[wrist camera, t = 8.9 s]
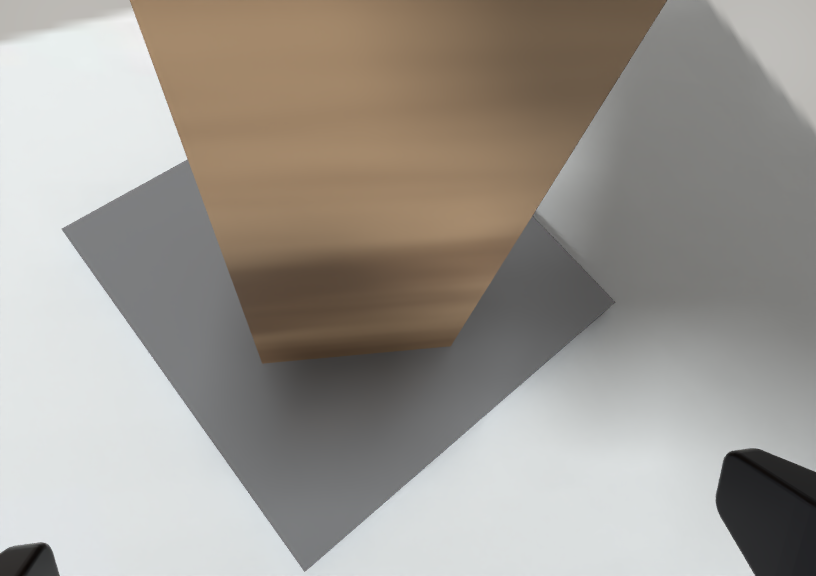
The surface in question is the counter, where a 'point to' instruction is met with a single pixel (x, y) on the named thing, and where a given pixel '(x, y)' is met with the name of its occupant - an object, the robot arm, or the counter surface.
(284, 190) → the block
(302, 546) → the coaster
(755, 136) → the counter surface
